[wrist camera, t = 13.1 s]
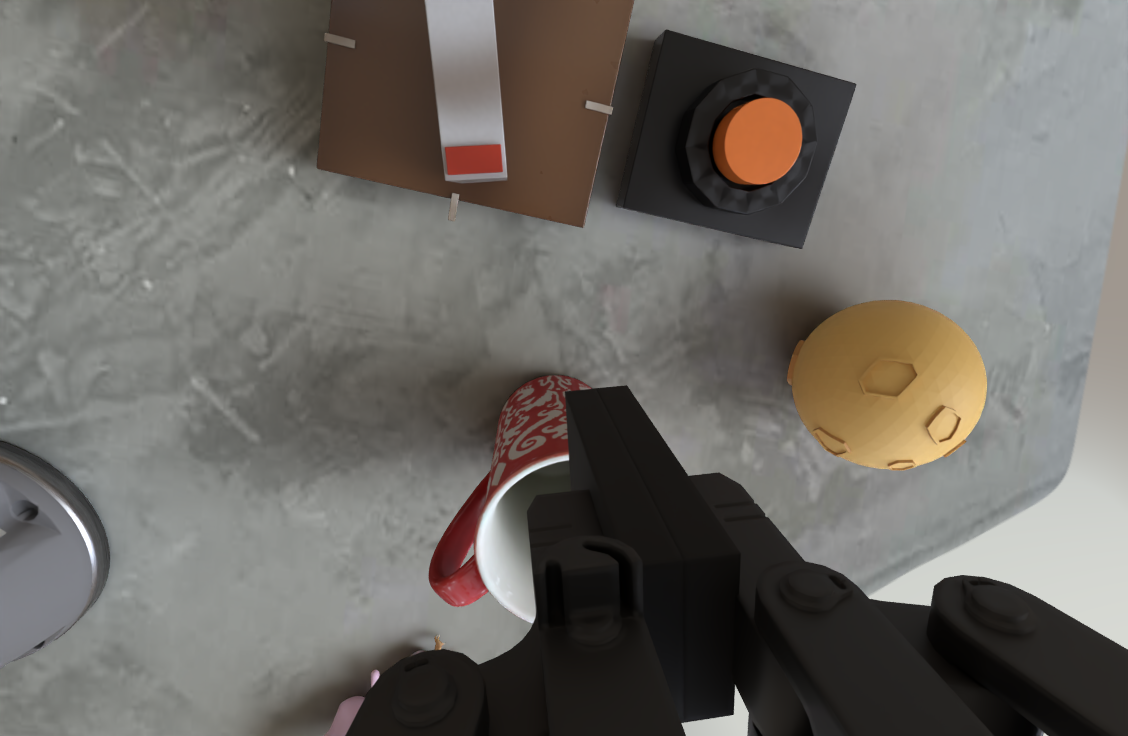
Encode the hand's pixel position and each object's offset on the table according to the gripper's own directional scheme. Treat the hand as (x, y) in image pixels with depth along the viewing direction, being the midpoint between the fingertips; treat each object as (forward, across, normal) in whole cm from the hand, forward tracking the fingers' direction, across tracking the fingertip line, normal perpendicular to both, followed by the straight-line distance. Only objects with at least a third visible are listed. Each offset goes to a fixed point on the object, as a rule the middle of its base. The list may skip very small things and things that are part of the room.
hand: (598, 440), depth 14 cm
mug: (+22, -1, -10) cm, 24 cm away
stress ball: (+22, +20, -6) cm, 30 cm away
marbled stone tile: (+19, -2, +11) cm, 22 cm away
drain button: (+18, +12, +7) cm, 23 cm away
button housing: (+22, +12, +7) cm, 26 cm away
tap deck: (+22, -2, +11) cm, 25 cm away
